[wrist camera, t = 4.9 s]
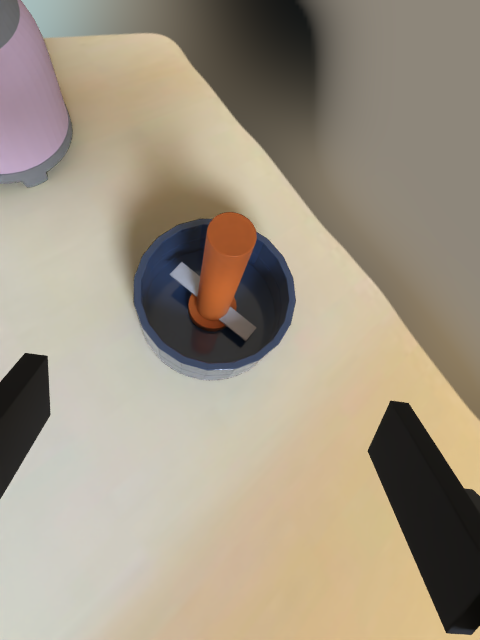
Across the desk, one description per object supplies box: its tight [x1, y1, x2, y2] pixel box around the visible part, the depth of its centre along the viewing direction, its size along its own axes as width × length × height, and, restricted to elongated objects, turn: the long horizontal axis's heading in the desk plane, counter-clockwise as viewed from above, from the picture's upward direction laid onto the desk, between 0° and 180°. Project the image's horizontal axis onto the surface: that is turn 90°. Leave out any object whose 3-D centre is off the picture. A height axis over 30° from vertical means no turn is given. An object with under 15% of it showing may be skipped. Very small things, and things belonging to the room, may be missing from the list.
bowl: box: [134, 219, 296, 380], centre depth 34 cm, size 13×13×6 cm
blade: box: [170, 212, 257, 341], centre depth 30 cm, size 9×4×14 cm, turn 52°
